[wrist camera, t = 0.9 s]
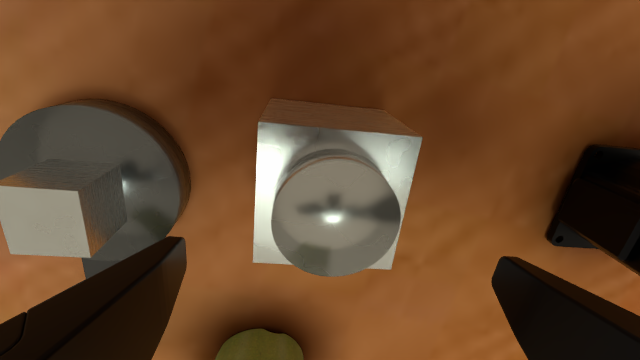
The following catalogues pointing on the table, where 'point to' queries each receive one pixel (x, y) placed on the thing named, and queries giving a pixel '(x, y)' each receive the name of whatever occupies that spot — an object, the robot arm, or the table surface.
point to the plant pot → (260, 347)
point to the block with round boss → (331, 186)
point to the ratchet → (90, 183)
